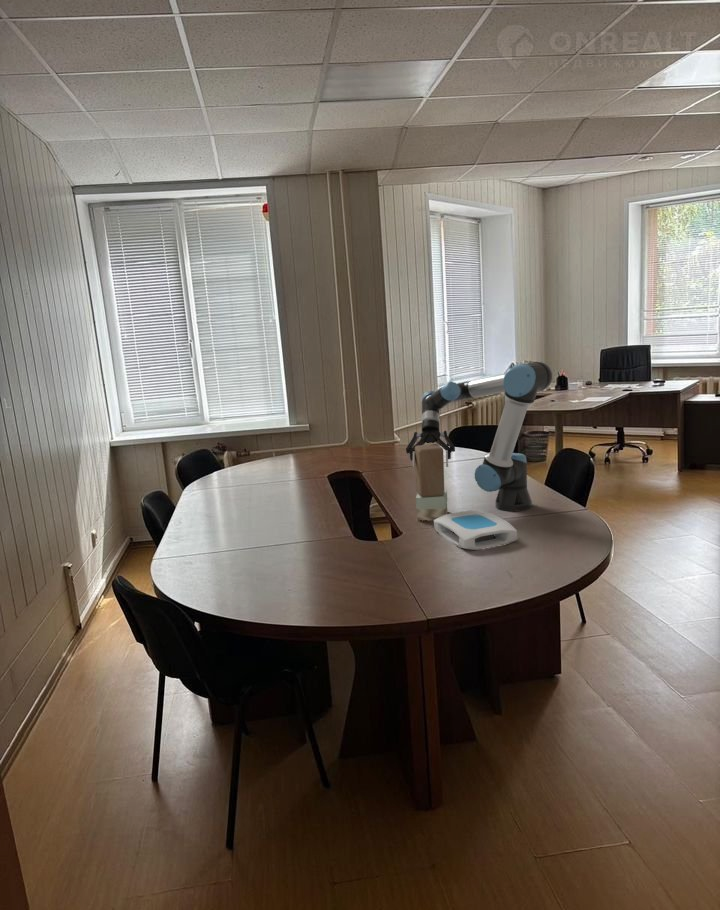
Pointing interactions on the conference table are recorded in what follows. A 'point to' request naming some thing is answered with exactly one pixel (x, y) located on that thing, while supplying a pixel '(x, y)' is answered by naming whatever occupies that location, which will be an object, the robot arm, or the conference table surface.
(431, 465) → the block
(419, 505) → the tower upper slab
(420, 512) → the tower lower slab
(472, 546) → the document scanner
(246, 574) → the conference table surface
